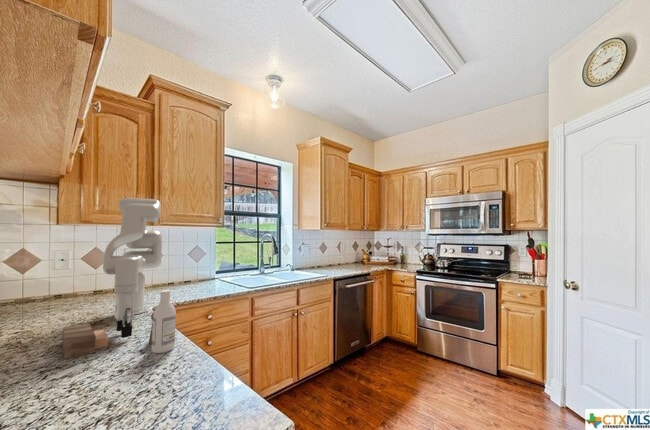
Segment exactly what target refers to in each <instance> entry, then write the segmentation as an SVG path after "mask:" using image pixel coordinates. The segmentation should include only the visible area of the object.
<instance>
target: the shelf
mask: <svg viewBox="0 0 650 430" xmlns="http://www.w3.org/2000/svg"><path fill="white" fill-rule="evenodd" d="M93 331H94V330H93V328H92V326H91V324H90V323H86V324H81V325H75V326H68V327H63V328H62V335H61V337H62V338H61V346H62V352H63V353H62V354H63V357H64V359H70V358H74V357H79V356H84V355H88V354H90V353H91V354H92V353H95V352H96V349H95V337H96V336H95V334H94V332H93Z"/></svg>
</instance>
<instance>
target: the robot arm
mask: <svg viewBox="0 0 650 430" xmlns="http://www.w3.org/2000/svg"><path fill="white" fill-rule="evenodd" d="M118 207H119V210H120V212H121V213H122V215H121V225H120V233H119V234H118V235H117V236H115V237H113V238H112V240H111V241H110V242H109V243H108V244H107V246H106V248H105V250H104V255H103V262H102V263H103V264H102V270H103V272H104V273H105V274H107V275H110V276H111V275H114V288H113V289H114V292H113V294H114V295H115V296H116V297H115V303H114V304H115V307H114V317H113V318H115V319H116V332H120V333H121V335H120V337H121V338H122V339H123V338H127V337H128V338H129V337H132V336H133V319H134V316H135V315H140V314H143V313H146V312H147V311H148V308H147V307H144V305H145V285H146V282H145V281H146V278H145V277H146V276H145V275H144V273H143V272H142V271H143V270H144V269H157V268H159V267H160V266H161V264H162V251H163V249H162V246H163V240H162V239H163V238H162V233H161V232H160V231H158V230H155V229H154V230H152V229H151V230H147V222H149V223H156V222H158V221H159V220H160V218H161V213H162V212H161V211H162V210H161V209H162V205H161V202H160V200H158V199H153V198H137V197H125V198H122V199H120V200H119V202H118ZM124 245H125V246H126V248H129V249H132V250H129V251H126V252H124V253H123V254H122V255H114V253H115V252H116V250H117V249H119V248H120V247H122V246H124ZM133 249H136V250H133ZM138 249H141V250H138ZM142 249H149V250H142ZM150 249H151V250H150Z"/></svg>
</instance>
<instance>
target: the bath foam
mask: <svg viewBox="0 0 650 430" xmlns="http://www.w3.org/2000/svg"><path fill="white" fill-rule="evenodd" d="M159 300H160V301H159V303H158V305H157V306H156V308H154V311H153V312H154V314H153V321H152V322H153V327H152V326H151V328H152V344H151V352H152V353H154V354H163V353H167V352H169V351H172V350H173V349H174V348H175V342H176V320H177V313H176V312H177V311H176V309H175V308H176V307H175V306H174V304H173V303H172V302H171V290H169V289H165V290H161V291H160V299H159Z"/></svg>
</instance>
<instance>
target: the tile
mask: <svg viewBox="0 0 650 430" xmlns="http://www.w3.org/2000/svg"><path fill="white" fill-rule="evenodd" d="M93 332H94V334H95V336H96V337H95V350H96V349H100V348H106V347H109V336H108V335H107V333H106V331H105V330H104V329H98V330H93Z"/></svg>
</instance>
